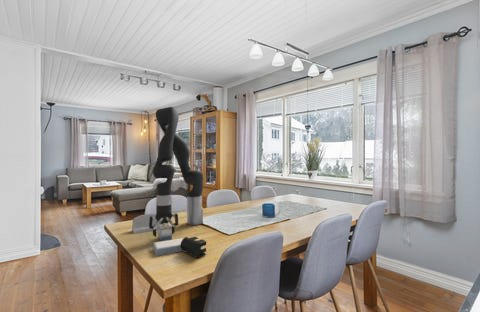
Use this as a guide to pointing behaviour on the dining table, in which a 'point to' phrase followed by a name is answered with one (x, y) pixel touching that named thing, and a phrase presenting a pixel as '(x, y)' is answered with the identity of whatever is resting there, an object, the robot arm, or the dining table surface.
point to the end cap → (193, 246)
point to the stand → (167, 247)
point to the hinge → (143, 223)
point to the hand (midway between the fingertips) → (163, 235)
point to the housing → (164, 232)
